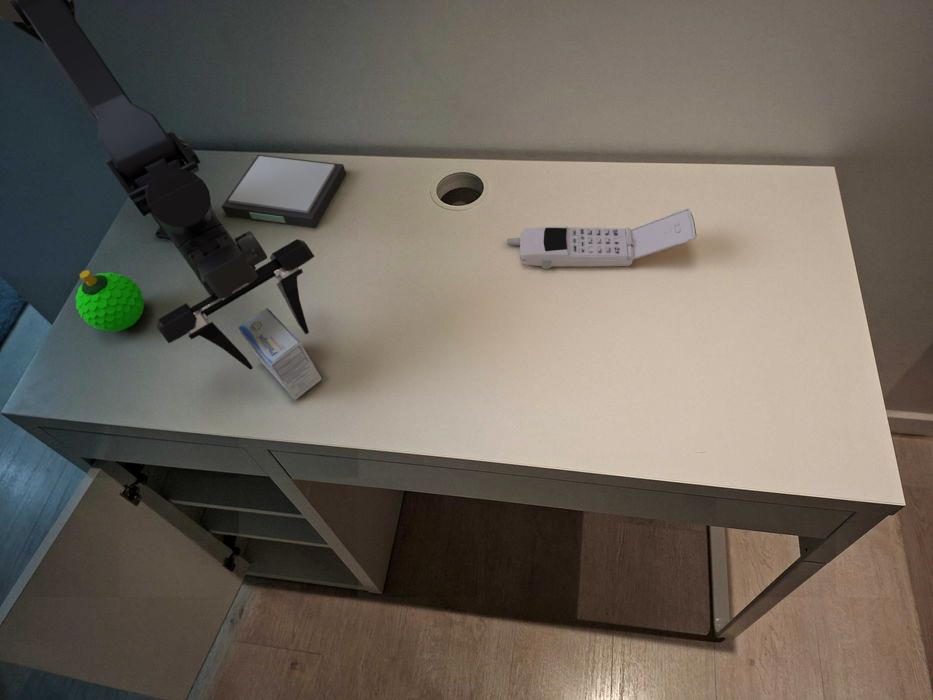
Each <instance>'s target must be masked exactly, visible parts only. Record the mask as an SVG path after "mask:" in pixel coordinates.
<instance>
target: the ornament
mask: <svg viewBox="0 0 933 700" xmlns="http://www.w3.org/2000/svg"><path fill="white" fill-rule="evenodd" d="M79 278H80V279H81V280H83V283H81V285H80V286H79V287H78V289H77V293H76V295H75V301H76V302H75V308H76V310H77V311H78V313H79V316H80V318H81V319H83V321H85V323H87V325H88V326H91V327H92V328H95V329H97V330H100V331H103V332H112V333H113V332H119V331H124V330H127V329H128V328H130V327H132V326H133V325H134V324H136V323H137V322H138V320H140V318H141V316H142V314H143V313H144V307H145V298H144V296H143V295H142V293H143V291H142V290H141V288H140V287H139V286H138V284H137V283H136V282H134V280H132V279H131V278H130V277H128V276H125V275H124V274H121V273H120V274H119V273H115V272H104V273H103V272H99V273H96V274H94V275H93V273H92V272H91V271H90V270H89V269H87V270H82V271H81V272H80V273H79Z"/></svg>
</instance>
